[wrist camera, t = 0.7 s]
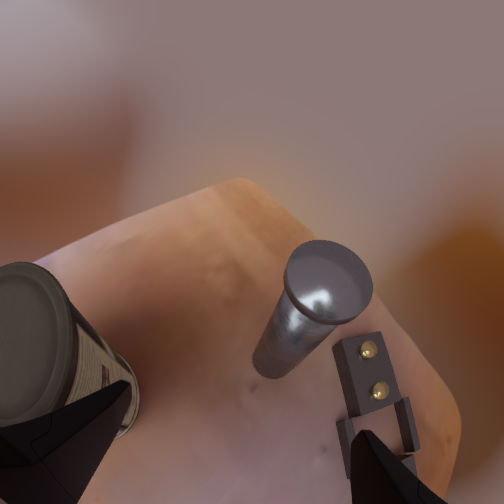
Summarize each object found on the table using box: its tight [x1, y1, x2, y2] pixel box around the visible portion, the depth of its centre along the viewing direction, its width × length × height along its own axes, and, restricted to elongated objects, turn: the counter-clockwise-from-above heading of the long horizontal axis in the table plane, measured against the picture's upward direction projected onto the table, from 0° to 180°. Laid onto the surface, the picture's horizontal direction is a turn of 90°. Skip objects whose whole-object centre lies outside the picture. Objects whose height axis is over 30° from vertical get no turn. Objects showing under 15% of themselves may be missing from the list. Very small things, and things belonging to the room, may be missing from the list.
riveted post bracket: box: [332, 331, 420, 479], centre depth 19 cm, size 22×8×3 cm, turn 9°
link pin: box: [252, 240, 373, 379], centre depth 19 cm, size 5×5×15 cm
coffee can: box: [0, 262, 140, 440], centre depth 14 cm, size 10×10×14 cm
